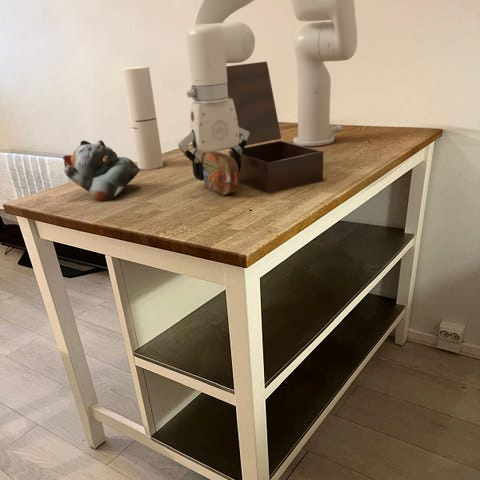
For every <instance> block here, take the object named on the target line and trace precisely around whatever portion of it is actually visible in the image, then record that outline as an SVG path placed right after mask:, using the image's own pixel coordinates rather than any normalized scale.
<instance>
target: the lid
mask: <svg viewBox="0 0 480 480" xmlns="http://www.w3.org/2000/svg"><path fill="white" fill-rule="evenodd" d="M226 68H227V83H228V95H229V98H232V99H233V103H234V106H235V110H236V115H237V121H238V127H240V128H242V129H244V130H247V131H249V133H250V134H249V137H248V140H247V144H246V146H253V145H258V144H263V143H268V142H273V141H278V140H282V134H281V129H280V124H279V118H278V112H277V108H276V107H277V106H276V102H275V97H274V92H273V86H272V81H271V76H270V71H269V65H268V61H260V62H259V61H257V62H252V63H251V62H250V63H243V64H235V65H226ZM239 137H240V139H241V135H240V134H239ZM228 150H231V149H230V148H229V149H228Z"/></svg>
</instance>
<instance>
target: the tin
mask: <svg viewBox="0 0 480 480" xmlns="http://www.w3.org/2000/svg"><path fill="white" fill-rule="evenodd" d="M200 162H201V163H202V166H203V176H204V180H203V183H204V185H205V186H206V187H207V188H208V189H210V190H212V191H215V192H216V193H218V194H221V195H222V196H225V195H229V194H235V193H236V192H237V191H238V189H239V186H240V181H239V169H238V165H237V163H236V161H235V159H234V158H233V157H231V156H230V155H228V154H226V153H222V152H220V151H214V152H208V153H203V155H202V157H201V159H200Z"/></svg>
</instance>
